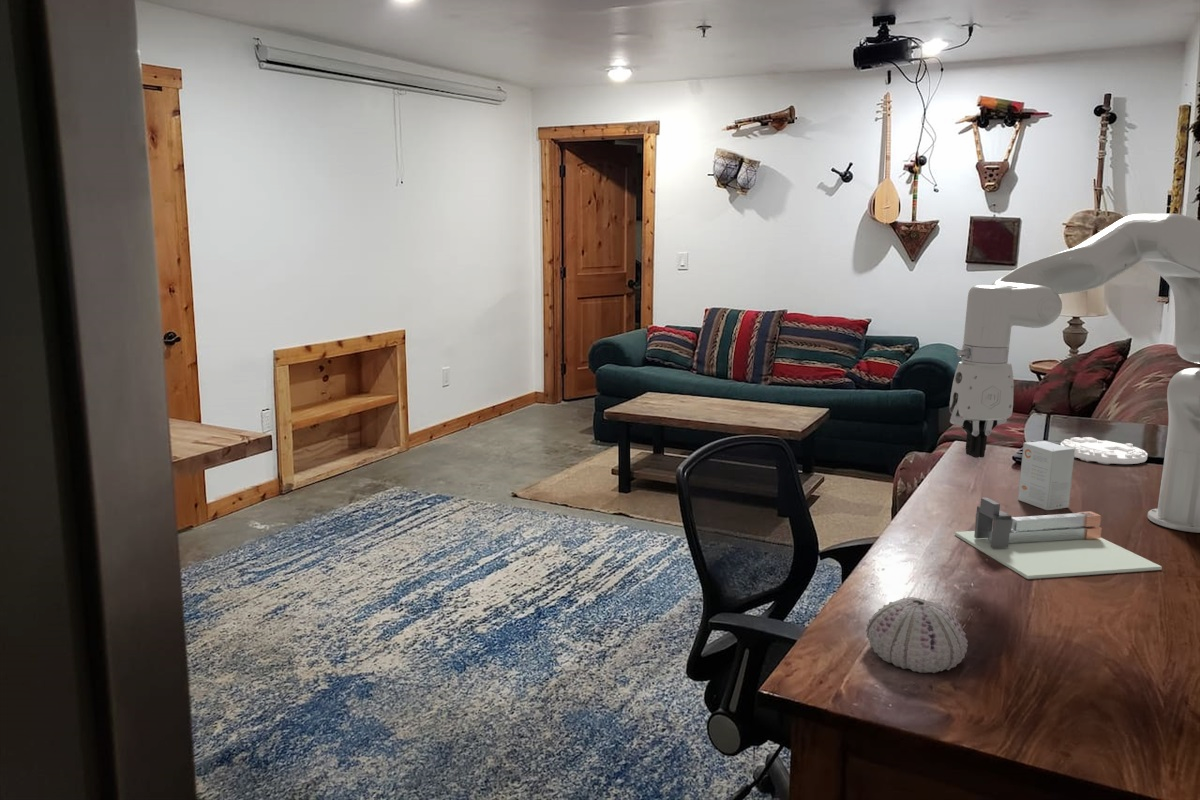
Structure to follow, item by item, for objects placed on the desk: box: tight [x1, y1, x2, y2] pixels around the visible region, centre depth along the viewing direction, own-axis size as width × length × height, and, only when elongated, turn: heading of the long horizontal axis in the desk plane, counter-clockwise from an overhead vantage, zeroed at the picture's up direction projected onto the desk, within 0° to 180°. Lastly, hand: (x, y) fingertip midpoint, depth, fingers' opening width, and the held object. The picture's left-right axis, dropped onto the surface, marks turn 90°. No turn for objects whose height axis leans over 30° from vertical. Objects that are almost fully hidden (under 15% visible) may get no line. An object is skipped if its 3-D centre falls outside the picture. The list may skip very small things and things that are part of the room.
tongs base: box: [988, 518, 1103, 544], centre depth 167 cm, size 22×3×6 cm, turn 100°
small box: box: [1017, 440, 1075, 511], centre depth 190 cm, size 8×6×13 cm
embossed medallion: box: [1059, 436, 1149, 465], centre depth 233 cm, size 20×20×3 cm
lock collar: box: [974, 497, 1012, 548], centre depth 165 cm, size 3×6×8 cm, turn 10°
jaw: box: [1011, 511, 1102, 531], centre depth 167 cm, size 18×3×2 cm, turn 102°
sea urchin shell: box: [865, 596, 969, 674], centre depth 123 cm, size 13×14×8 cm
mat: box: [954, 530, 1163, 580], centre depth 163 cm, size 26×22×1 cm
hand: (974, 455), depth 161 cm, fingers closed
